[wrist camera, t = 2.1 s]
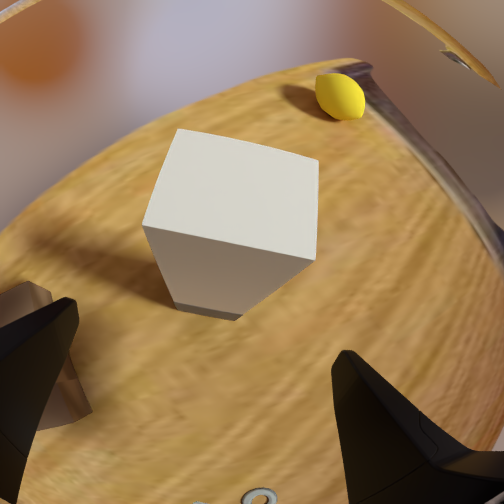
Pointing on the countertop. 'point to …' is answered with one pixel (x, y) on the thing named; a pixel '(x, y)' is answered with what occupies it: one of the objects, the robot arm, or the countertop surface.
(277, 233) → the rail post
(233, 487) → the countertop surface
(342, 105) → the lemon
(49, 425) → the post base
